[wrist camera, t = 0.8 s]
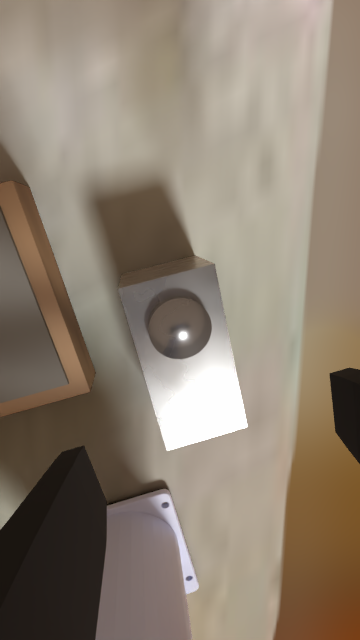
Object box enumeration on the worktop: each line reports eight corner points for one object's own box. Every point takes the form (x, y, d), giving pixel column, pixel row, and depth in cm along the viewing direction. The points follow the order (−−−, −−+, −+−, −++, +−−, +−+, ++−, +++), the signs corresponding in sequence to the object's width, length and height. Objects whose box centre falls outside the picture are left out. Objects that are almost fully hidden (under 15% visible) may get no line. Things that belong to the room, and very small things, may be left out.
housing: (222, 383, 19) (250, 432, 15) (159, 401, 19) (167, 456, 14) (194, 254, 17) (217, 264, 12) (122, 273, 17) (117, 291, 12)
